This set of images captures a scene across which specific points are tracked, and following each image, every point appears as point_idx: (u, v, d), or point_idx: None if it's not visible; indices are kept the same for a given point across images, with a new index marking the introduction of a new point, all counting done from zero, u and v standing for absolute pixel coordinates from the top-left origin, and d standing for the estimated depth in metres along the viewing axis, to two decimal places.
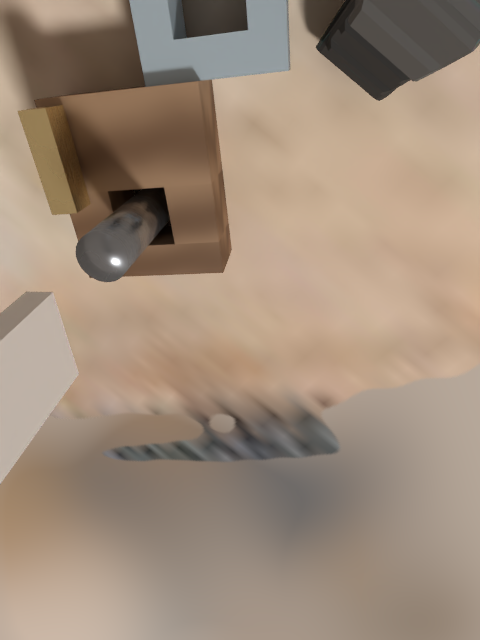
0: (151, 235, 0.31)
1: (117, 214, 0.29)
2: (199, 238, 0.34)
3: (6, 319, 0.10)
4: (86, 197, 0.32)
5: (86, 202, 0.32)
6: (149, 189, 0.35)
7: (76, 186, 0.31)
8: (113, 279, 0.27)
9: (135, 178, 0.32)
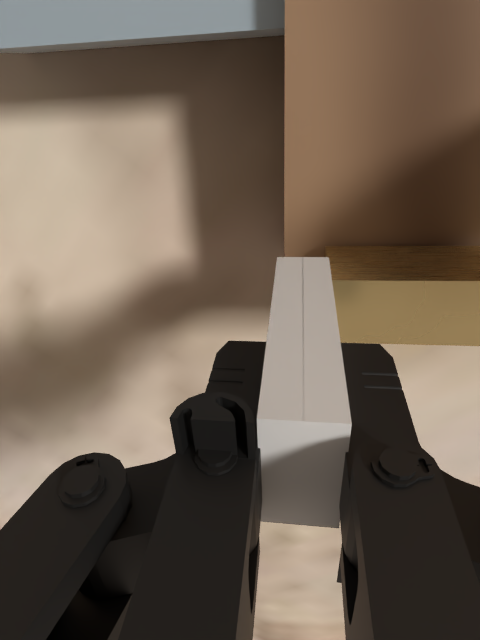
0: None
1: None
2: None
3: (287, 278, 0.11)
4: None
5: None
6: None
7: None
8: None
9: None
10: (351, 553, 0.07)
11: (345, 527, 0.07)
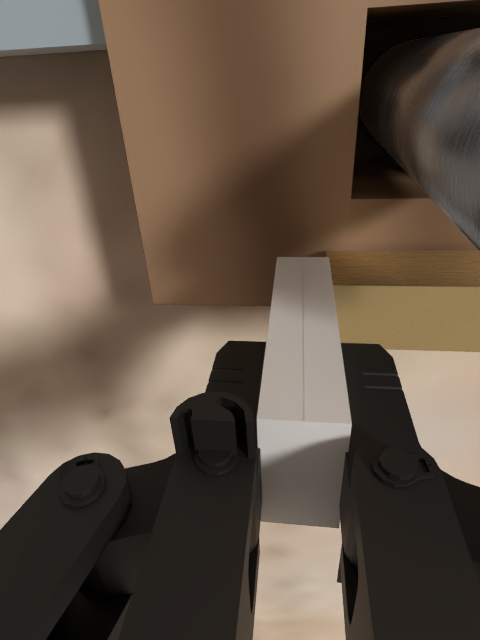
0: None
1: (421, 132, 0.07)
2: None
3: (287, 277, 0.11)
4: None
5: None
6: (370, 95, 0.13)
7: None
8: None
9: (328, 106, 0.11)
10: (351, 553, 0.07)
11: (345, 527, 0.07)
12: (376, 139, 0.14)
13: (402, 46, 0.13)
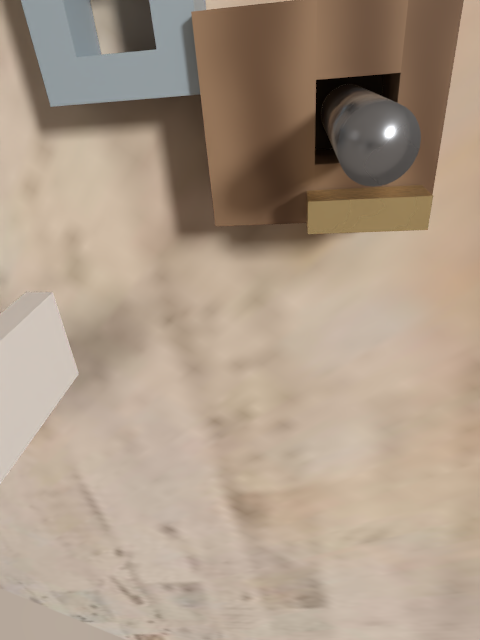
0: (373, 93, 0.21)
1: (331, 133, 0.21)
2: (398, 26, 0.22)
3: (6, 319, 0.10)
4: (413, 187, 0.25)
5: (419, 187, 0.25)
6: (323, 114, 0.27)
7: (398, 192, 0.25)
8: (417, 133, 0.17)
9: (301, 121, 0.25)
10: None
11: None
12: None
13: (338, 90, 0.27)
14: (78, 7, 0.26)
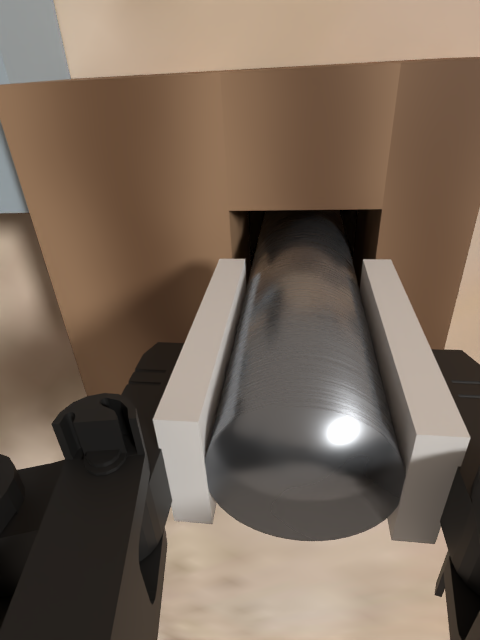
0: (320, 271, 0.11)
1: None
2: (377, 131, 0.11)
3: (223, 279, 0.11)
4: None
5: None
6: None
7: None
8: (397, 474, 0.07)
9: (209, 271, 0.14)
10: (462, 567, 0.06)
11: (457, 539, 0.06)
12: None
13: None
14: None
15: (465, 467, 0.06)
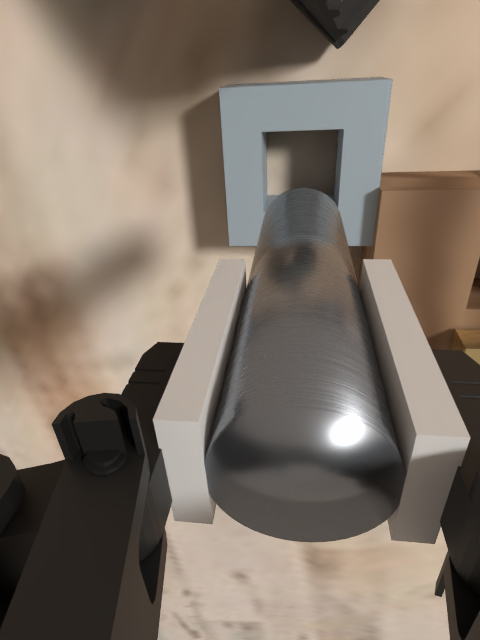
0: (320, 271, 0.10)
1: None
2: None
3: (223, 279, 0.11)
4: None
5: None
6: None
7: None
8: (398, 475, 0.07)
9: (461, 276, 0.28)
10: (462, 567, 0.06)
11: (457, 539, 0.06)
12: None
13: (282, 206, 0.16)
14: (264, 165, 0.29)
15: (465, 467, 0.06)
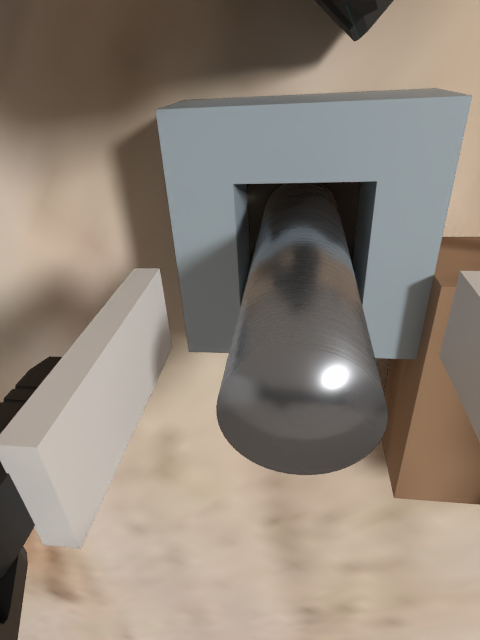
0: (317, 248, 0.12)
1: None
2: None
3: (128, 290, 0.11)
4: None
5: None
6: None
7: None
8: (380, 408, 0.08)
9: None
10: None
11: None
12: None
13: (282, 195, 0.17)
14: (242, 230, 0.18)
15: None
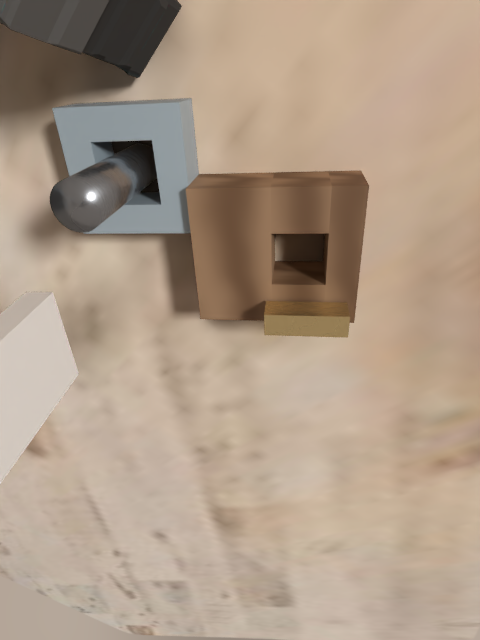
0: (108, 162, 0.30)
1: None
2: (325, 206, 0.32)
3: (6, 319, 0.10)
4: (340, 304, 0.36)
5: (344, 305, 0.36)
6: None
7: (328, 310, 0.35)
8: (97, 200, 0.26)
9: (261, 257, 0.35)
10: None
11: None
12: None
13: None
14: None
15: None
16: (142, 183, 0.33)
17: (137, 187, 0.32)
